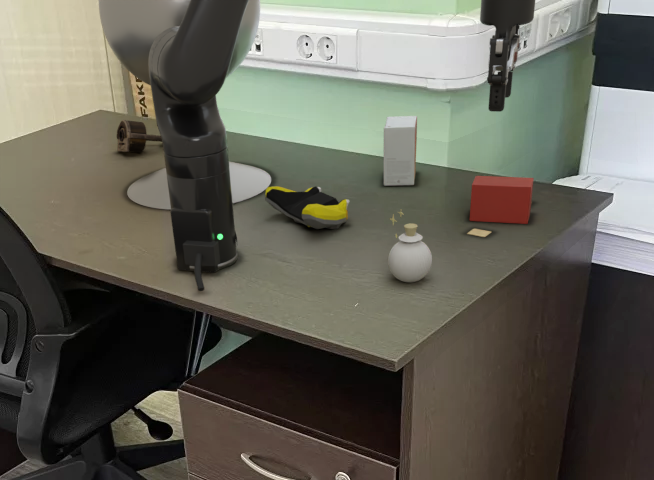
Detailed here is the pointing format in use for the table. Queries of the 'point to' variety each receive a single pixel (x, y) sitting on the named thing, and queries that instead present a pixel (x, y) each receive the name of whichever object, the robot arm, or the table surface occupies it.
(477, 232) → the edge tape marks
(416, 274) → the white potion bottle
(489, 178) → the block
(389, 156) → the small box
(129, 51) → the desk lamp
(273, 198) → the black yellow shoe-shaped piece
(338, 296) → the table surface
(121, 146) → the mechanical counter
